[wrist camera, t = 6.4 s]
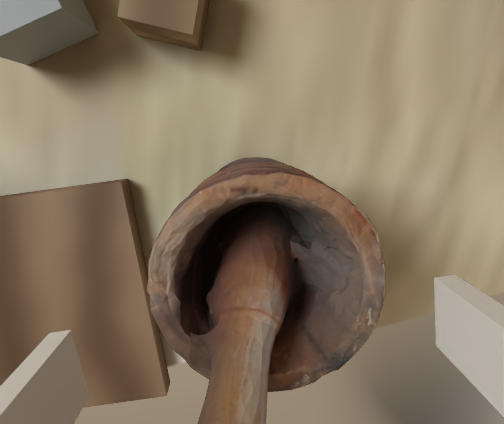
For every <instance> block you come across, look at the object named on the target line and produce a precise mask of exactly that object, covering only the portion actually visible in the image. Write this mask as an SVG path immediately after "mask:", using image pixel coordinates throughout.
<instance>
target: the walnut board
mask: <svg viewBox="0 0 504 424" xmlns="http://www.w3.org/2000/svg"><path fill="white" fill-rule="evenodd" d="M147 284H148V273H147V268H146V264H145V259H144V254H143V249H142V244H141V240H140V235H139V230H138V225H137V220H136V216H135V211H134V206H133V201H132V196H131V192H130V187H129V182H128V179H123V180H115V181H108V182H101V183H93V184H86V185H78V186H71V187H64V188H56V189H49V190H42V191H34V192H27V193H20V194H12V195H5V196H0V386H1V385H2V384H3V383H4V382H5V381H6V380H7V378H8V377H9V376H10V375H11V374H12V373H13V372H14V371H15V370H16V369H17V368H18V367H19V365H20V364H21V363H22V362H23V361H24V360H25V359H26V358H27V357H28V356H29V355H30V354H31V352H32V351H33V350H34V349H35V348H36V347H37V346H38V345H39V344H40V343H41V342H42V341H43V339H44V338H45V337H46V336H47V335H48V334H49V333H52V332H59V331H66V330H71V331H72V335H73V339H74V342H75V346H76V350H77V354H78V358H79V361H80V365H81V369H82V373H83V377H84V380H85V384H86V388H87V392H88V395H89V397H88V399H87V401H86V402H85V404H84V406H83V407H89V406H96V405H104V404H111V403H118V402H126V401H133V400H140V399H147V398H154V397H161V396H166V395H167V392H168V388H169V385H170V379H169V375H168V369H167V365H166V360H165V355H164V350H163V345H162V341H161V336H160V331H159V326H158V324H157V322H156V320H155V319H154V317H153V315H152V313H151V311H150V295H149V294H148V292H147Z"/></svg>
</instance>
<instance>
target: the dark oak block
mask: <svg viewBox="0 0 504 424" xmlns="http://www.w3.org/2000/svg"><path fill="white" fill-rule="evenodd" d="M208 6H209V0H119V8H118V15H117V17H118V18H119V19H121V20H122V21H123V22H124V23H125V24H126V25H127V26H128V27H129V28H130V29H131V30H132V31H133V32H135V33H136V34H137V35H138V36H142V37H146V38H150V39H155V40H159V41H163V42H167V43H171V44H175V45H179V46H184V47H188V48H192V49H196V50H201V44H202V39H203V33H204V28H205V22H206V17H207V11H208Z"/></svg>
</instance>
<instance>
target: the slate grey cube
mask: <svg viewBox="0 0 504 424" xmlns="http://www.w3.org/2000/svg"><path fill="white" fill-rule="evenodd" d="M96 34H98V30H97V28H96V26H95V24H94V22H93V20H92V18H91V16H90V13H89V11H88V9H87V7H86V5H85V3H84V1H83V0H0V57H2V58H5V59H9V60H12V61H15V62H19V63H22V64H25V65H30V64H32V63H34V62H36V61H38V60H41V59H43V58H45V57H47V56H49V55H52V54H54V53H56V52H58V51H60V50H63V49H65V48H67V47H69V46H72V45H74V44H76V43H78V42H80V41H83V40H85V39H87V38H89V37H91V36H94V35H96Z"/></svg>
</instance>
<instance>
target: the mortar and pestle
mask: <svg viewBox="0 0 504 424" xmlns="http://www.w3.org/2000/svg"><path fill="white" fill-rule="evenodd" d="M147 292H148V294H149V295H150V311H151V313H152V315H153V317H154V319H155V320H156V322H157V324H158V326H159V328H160V330H161V332H162V334H163V336H164V338H165V340H166V341H167V342H168V344H169V345H170V346H171V348H172V349H173V350H174V351H175V352H177V353H178V354H179V355H180V356H181V357H183V358H184V359H185V360H186V362H187V363H188V364H189V365H190V367H191V368H193V369H194V370H195V371H197V372H198V373H200V374H201V375H203V376H204V377H206V378H208V379H209V385H208V389H207V394H206V397H205V401H204V405H203V408H202V411H201V414H200V417H199V421H198V424H266V411H267V410H266V409H267V392H273V391H284V390H292V389H296V388H299V387H302V386H305V385H308V384H310V383H313V382H315V381H316V380H318V379H319V378H320V377H322V376H323V375H325V374H328V373H330V372H332V371H335V370H338V369H340V368H341V367H342V366H343V365H344V364H345V363H346V362H347V361H348V360H349V359H350V358H351V357H352V356H353V355H354V354H355V353H356V352H357V351H358V350H359V349H360V348H361V347H362V346H363V345H364V343H365V342H366V341H367V339H368V338H369V336H370V335H371V333H372V332H373V330H374V328H375V326H376V324H377V321H378V319H379V316H380V311H381V309H382V306H383V300H384V294H385V269H384V259H383V256H382V252H381V248H380V244H379V240H378V231H377V230H376V228H375V227H374V225H373V224H372V223H371V221H370V220H369V218H368V217H367V215H366V214H364V213H363V212H362V211H361V210H359V209H358V208H357V207H356V206H355V205H353V204H352V203H351V202H350V201H349V200H348V199H347V198H346V197H344V196H343V195H342V194H340V193H339V192H337V191H336V190H334V189H332V188H331V187H329V186H328V185H326V184H325V183H323V182H322V181H320V180H318V179H316V178H315V177H313V176H311V175H310V174H308V173H306V172H304V171H302V170H299V169H297V168H294V167H292V166H289V165H285V164H284V163H280V162H278V161H275V160H272V159H269V158H258V157H257V158H244V159H240V160H236V161H234V162H232V163H230V164H228V165H226V166H225V167H223V168H221V169H220V170H219V171H218V172H217V173H215V174H213V175H212V176H210V177H208V178H207V179H206V180H204V181H203V182H202V183H201V184H200V185H199V186H198V187H197V188H196V189H195V190H194V191H193V192H192V193H191V194H190V195H189V196H188V197H187V198H186V199H184V200H183V201H182V202H181V203H180V204H179V205H178V206H177V208H176V209H175V210H174V211H173V213H172V214H171V216H170V217H169V219H168V220H167V222H166V223H165V224H164V226H163V228H162V230H161V232H160V234H159V236H158V238H157V239H156V241H155V243H154V245H153V248H152V251H151V254H150V256H149V260H148V284H147Z"/></svg>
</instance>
